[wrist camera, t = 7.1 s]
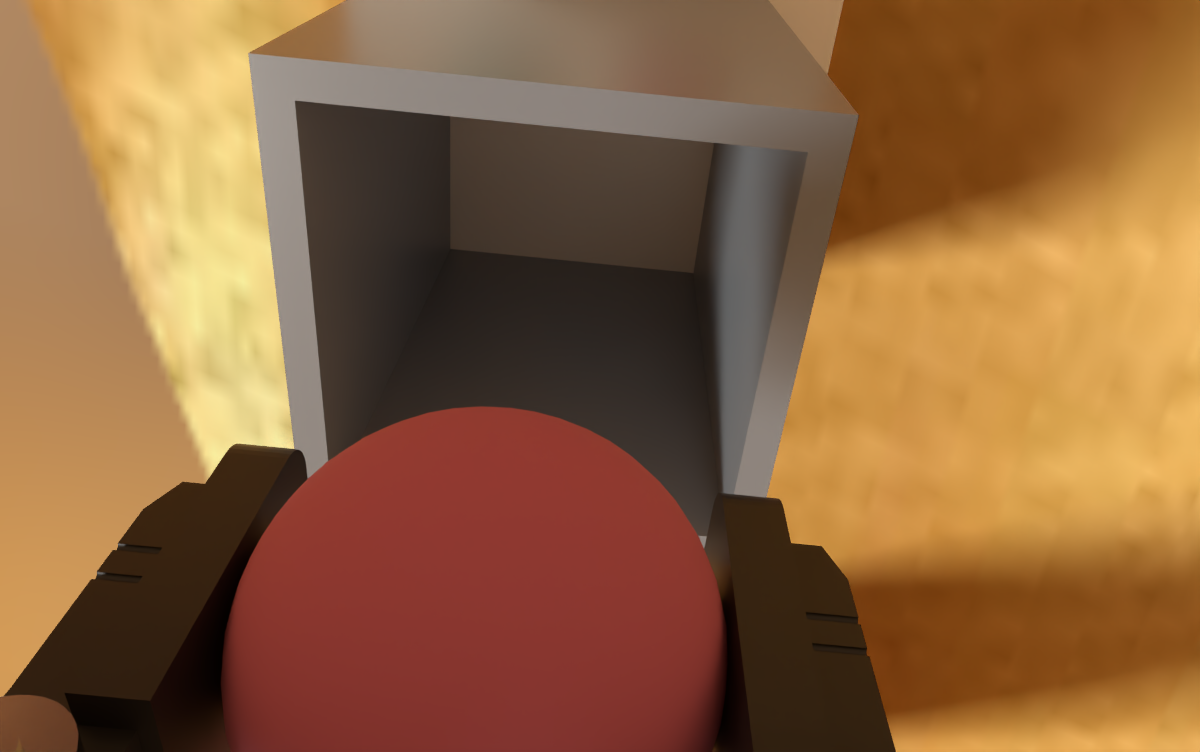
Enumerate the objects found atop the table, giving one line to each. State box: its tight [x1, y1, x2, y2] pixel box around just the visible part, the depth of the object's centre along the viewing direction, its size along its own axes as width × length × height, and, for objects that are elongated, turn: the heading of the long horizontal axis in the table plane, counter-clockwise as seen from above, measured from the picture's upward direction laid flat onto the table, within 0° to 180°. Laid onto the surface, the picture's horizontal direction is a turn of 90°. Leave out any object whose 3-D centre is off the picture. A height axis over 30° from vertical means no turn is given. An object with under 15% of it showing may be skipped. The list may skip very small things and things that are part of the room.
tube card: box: [248, 0, 859, 548], centre depth 18 cm, size 13×16×12 cm
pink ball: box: [221, 406, 728, 752], centre depth 9 cm, size 5×5×5 cm
